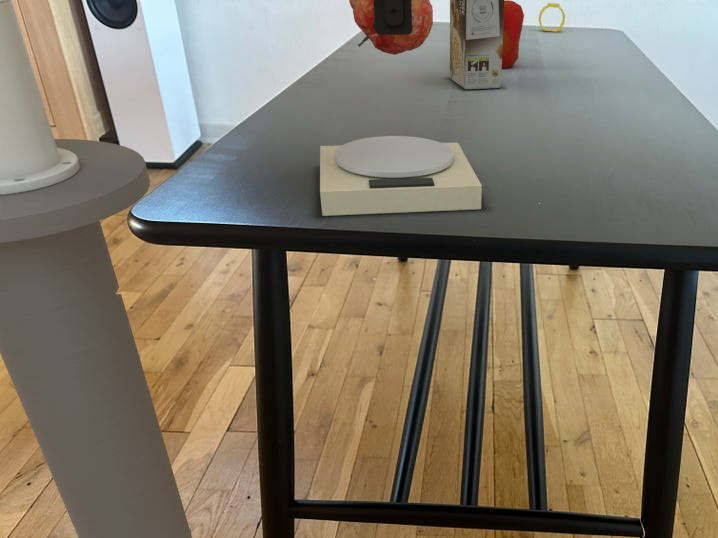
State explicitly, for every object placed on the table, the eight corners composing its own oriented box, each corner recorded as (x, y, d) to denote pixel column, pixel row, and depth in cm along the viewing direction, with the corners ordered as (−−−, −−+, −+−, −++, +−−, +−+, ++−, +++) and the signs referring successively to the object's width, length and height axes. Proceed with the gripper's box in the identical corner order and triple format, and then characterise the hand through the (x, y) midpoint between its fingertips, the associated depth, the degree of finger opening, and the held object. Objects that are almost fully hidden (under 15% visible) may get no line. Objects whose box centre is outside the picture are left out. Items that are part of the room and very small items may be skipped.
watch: (538, 32, 161) (540, 3, 157) (537, 30, 163) (539, 2, 160) (564, 32, 161) (566, 4, 158) (562, 30, 163) (565, 2, 160)
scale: (322, 216, 64) (318, 181, 62) (322, 167, 75) (319, 137, 73) (481, 209, 66) (482, 175, 65) (457, 163, 78) (458, 134, 76)
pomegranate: (345, 81, 64) (409, 17, 57) (313, 6, 63) (374, -67, 56) (402, 78, 69) (467, 20, 62) (372, 9, 69) (434, -57, 62)
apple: (498, 59, 130) (500, -11, 124) (531, 66, 126) (536, -6, 119) (465, 65, 125) (466, -9, 119) (498, 72, 120) (501, -4, 114)
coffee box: (502, 88, 110) (507, -27, 101) (464, 90, 108) (466, -27, 99) (483, 76, 117) (486, -32, 108) (447, 78, 116) (447, -32, 107)
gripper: (329, -212, 60) (345, 14, 70) (332, -246, 46) (352, 43, 56) (415, -207, 61) (419, 14, 71) (443, -239, 47) (444, 43, 57)
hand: (389, 25), depth 63 cm, fingers closed on pomegranate, 7 cm apart
